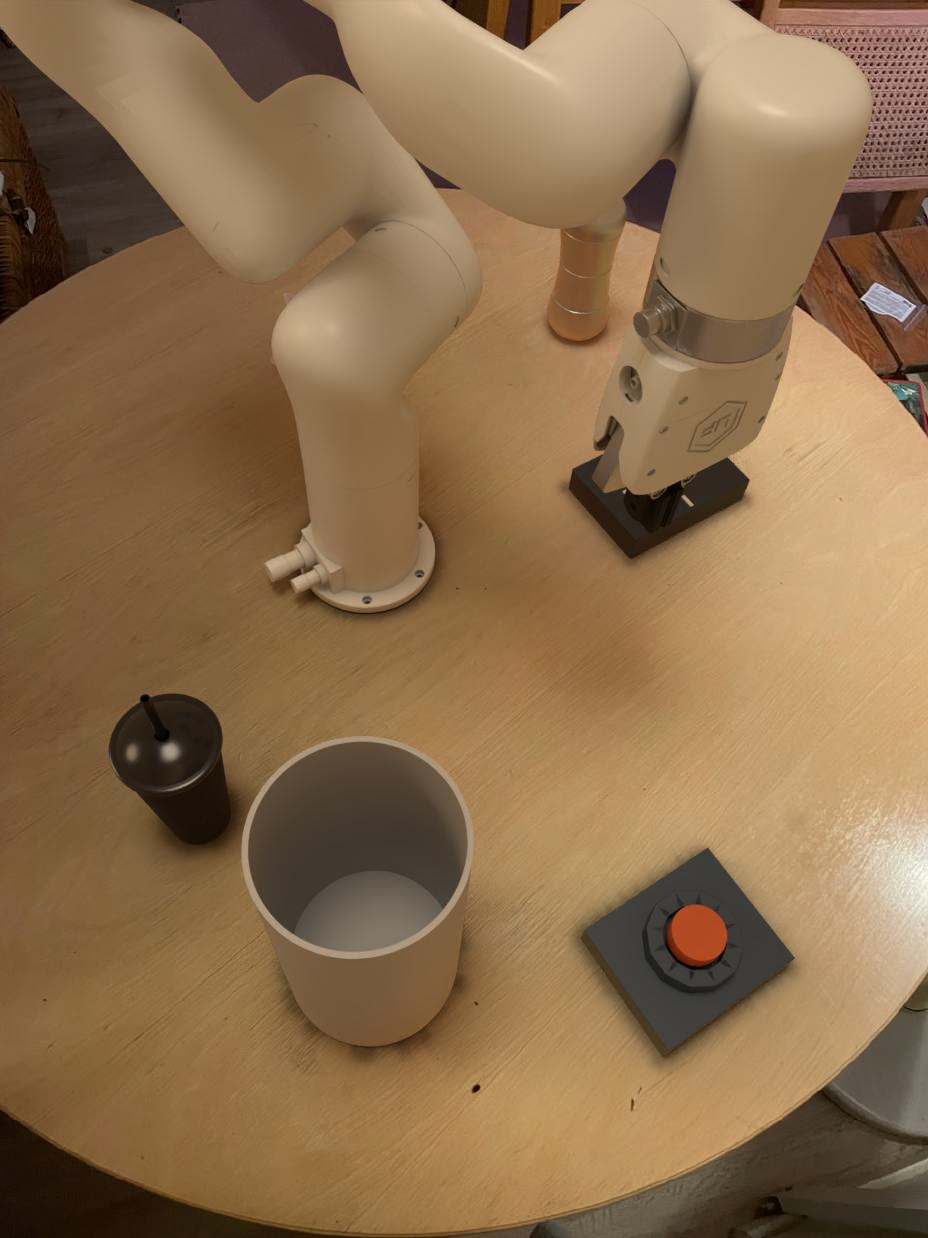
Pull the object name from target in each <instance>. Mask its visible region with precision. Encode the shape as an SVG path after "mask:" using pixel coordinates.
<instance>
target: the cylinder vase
mask: <svg viewBox="0 0 928 1238" xmlns="http://www.w3.org/2000/svg"><path fill="white" fill-rule="evenodd" d="M242 831H243V832H242V837H241V851H240V853H241V865H242V873H243V877H244V880H245V884H246V887H247V890H248V892H249V895H250V897H251V899H252V902H253V904H254V906H255V908H256V911H257V913H258V915H259V918H260V920H261V922H262V925H263V927H264V930H265V932H266V934H267V936H268V939H269V941H270V943H271V945H272V948H273V950H274V952H275V955H276V957H277V959H278V962H279V964H280V966H281V969H282V971H283V974H284V976H285V978H286V980H287V982H288V985H289V988H290V990H291V992H292V995H293V996H294V999H295V1001H296V1003H297V1005H298V1007H299V1008H300V1010H301V1011H302V1013H303V1014H304V1015H305V1017H306V1018H307V1019H308V1020H309V1021H310V1022H311V1024H312V1025H314V1026H315V1028H317V1029H318V1030H320V1031H321V1032H323V1033H324V1034H326V1035H328V1036H329V1037H331V1038H332V1039H335V1040H337V1041H339V1042H342V1043H345V1044H348V1045H353V1046H359V1047H380V1046H381V1047H382V1046H387V1045H391V1044H394V1043H398V1042H400V1041H403V1040H406V1039H408V1038H409V1037H411V1036H413V1035H415V1034H417V1033H418V1032H419V1031H421V1030H422V1029H423V1028H425V1027H426V1026H428V1024H429V1023H430V1022H431V1021H433V1020H434V1018H435V1017H436V1016H437V1015H438V1014H439V1012H440V1011H441V1010H442V1008H443V1007H444V1005H445V1004H446V1002H447V1001H448V999H449V997H450V994H451V992H452V989H453V987H454V983H455V980H456V977H457V972H458V966H459V958H460V952H461V946H462V945H461V943H462V937H463V930H464V923H465V916H466V909H467V904H468V903H467V902H468V896H469V888H470V881H471V874H472V867H473V862H474V861H473V860H474V852H475V835H474V827H473V820H472V816H471V812H470V809H469V807H468V804H467V802H466V800H465V798H464V795H463V794H462V791H461V790H460V788H459V787H458V785H457V783H456V782H455V781H454V779H453V778H452V777H451V776H450V774H449V773H448V772H447V771H446V769H444V768H443V767H442V766H441V765H440V764H439V763H437V762H436V760H434V759H433V758H431V756H429V755H427V754H425V753H424V752H423V751H421V750H419V749H417V748H415V747H413V746H411V745H408V744H406V743H404V742H401V741H397V740H394V739H391V738H385V737H379V736H370V735H355V736H345V737H339V738H334V739H330V740H327V741H324V742H321V743H317V744H316V745H313V746H311V747H308V748H306V749H304V750H303V751H301V752H299V753H297V754H296V755H294V756H293V757H291V758H290V759H289V760H287V761H286V762H284V763H283V765H281V766H280V767H279V768H278V769H276V770H275V771H274V773H273V774H272V775H271V776H270V777H269V778H268V779H267V781H266V782H265V783H264V784H263V786H262V787H261V789H260V790H259V792H258V793H257V795H256V797H255V799H254V801H252V804H251V806H250V808H249V811H248V813H247V816H246V819H245V822H244V828H243V830H242Z"/></svg>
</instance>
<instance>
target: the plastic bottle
mask: <svg viewBox="0 0 928 1238" xmlns="http://www.w3.org/2000/svg"><path fill="white" fill-rule="evenodd" d="M627 217H628V212H627V206H626V203H625V201H624V197H623V198H622V199H621V200H620V201H619V202H618V203H617V204H616V205H615V206H614V207H613V208H611V209H610V210H609V211H608V212H607V213H605V214H604V215H602V216H601V217H599V218H598V219H596V220H594V221H592V222H590V223H587V224H584V225H581V226H578V227H574V228H565V229H559V230H560V231H559V234H560V236H559V237H560V249H559V261H558V262H559V264H558V269H557V272H556V277H555V282H554V286H553V289H552V290H551V293H550V295H549V299H548V303H547V319H548V323H549V325H550V327H551V328H552V329H553V331H554V332H555V333H556V335H558V336H560V337H561V338H563V339H565V340H569V341H574V342H584V341H587V340H591V339H593V338H595V337H596V336H597V335H599V334H600V333H602V331H603V330H604V329H605V327H606V324H607V323H608V322H607V321H608V319H609V317H610V308H611V307H610V305H611V303H610V301H611V300H610V283H611V271H612V268H613V264H614V261H615V256H616V250H617V248H618V245H619V243H620V240H621V237H622V234H623V231H624V228H625V227H626V222H627V219H628V218H627Z"/></svg>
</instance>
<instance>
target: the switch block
mask: <svg viewBox="0 0 928 1238" xmlns="http://www.w3.org/2000/svg"><path fill="white" fill-rule="evenodd" d="M689 905H702V906H706V907H708V908H710V909H712V910H713V911H715V912H716V913H717V914H718V915H719V916H720V917H721V919H722V920H723V922H724V924H725V927H726V930H727V943H726V946H725V948H724V950H723V951H722V953H721V954H720V955H719V956H718V957H717V958H716V959H715V960H714V961H713V962H712V963H710V964H708V965H706V966H701V967H694V966H689V965H687V964H684V963H683V962H681V961H680V960H678V959H677V958H676V957H675V956H674V955H673V953H672V952H671V950H670V948H669V946H668V942H667V929H668V926H669V923H670V922H671V920H672V919H673V918H674V916H675V915H676V913H677V912H678V911H679V910H681V909H682V908H684V907H686V906H689ZM580 940H581V941H582V943H583V944H584V946H585V947H586V948H587V950H588V951H589V952H590V955H591V956H592V957H593V959H594V960H595V961H596V963H597V964H598V966H599V967H600V969H601V970H602V972H603V974H604V975H605V976H606V977H607V979H608V980H609V982H610V983H611V985H612V986H613V987H614V989H615V991H616V992H617V993H618V995H619V996H620V998H621V999H622V1000H623V1003H625V1004H626V1006H627V1008H628V1009H629V1011H630V1012H631V1014H632V1015H633V1016H634V1018H635V1019H636V1021H637V1022H638V1024H639V1025H640V1026H641V1028H642V1030H643V1031H644V1032H645V1034H646V1036H648V1038H649V1039H650V1041H651V1042H652V1044H653V1045H654V1047H655V1048H656V1049H657V1051H658V1052H659V1054H660V1056H661V1057H665V1056H667V1055H668V1054H669V1053H670V1052H672V1051H674V1049H676V1048H677V1047H679V1046H680V1045H681V1044H683V1043H684V1042H685V1041H687V1040H688V1039H689V1038H691V1037H692V1036H693V1035H694V1034H696V1033H698V1032H699V1031H700V1030H702V1029H703V1028H704V1027H705V1026H706V1025H708V1024H710V1023H711V1022H712V1021H714V1020H715V1019H716V1018H718V1017H719V1016H721V1015H722V1014H723V1013H724V1012H726V1011H727V1010H728V1009H730V1008H732V1006H734V1005H735V1004H737V1003H738V1002H739V1001H741V1000H742V999H743V998H745V997H746V996H748V995H749V994H750V993H751V992H753V991H754V990H755V989H757V988H758V987H759V986H761V985H762V984H764V983H765V982H766V981H768V980H769V979H770V978H772V977H773V976H774V975H776V974H778V972H780V971H781V970H783V969H784V968H785V967H786V966H788V965H789V964H790V963H791V962H793V961H794V960H795V959H796V957H795V956H794V955H793V953H792V952H791V951H790V950H789V948H788V947H787V946H786V945H785V943H784V942H783V941H782V939H780V937H779V936H778V934H777V933H776V932H775V930H774V929H773V928H772V926H771V925H770V924H769V923H768V922H767V920H766V919H765V917H763V915H762V914H761V913H760V912H759V911H758V909H757V908H756V907H755V905H754V903H752V901H751V900H750V899H749V897H748V896H747V895H746V894H745V892H744V891H743V890H742V889H741V887H740V886H739V885H738V884H737V882H736V881H735V880H734V879H733V877H732V876H731V875H730V873H729V872H728V871H727V870H726V868H725V867H724V866H723V865H722V863H721V862H720V861H719V859H718V858H717V857H716V856H715V854H714V853H713V852H712V851H711V850H710V848H709V847H706V848H704V849H703V850H702V851H699V853H697V854H695V855H694V856H693V857H691V858H689V859H688V860H687V861H685V862H684V863H682V864H681V865H679V866H678V867H676V868H675V869H673V870H672V871H670V872H669V873H667V874H666V875H665V876H663V877H661V878H660V879H658V880H657V881H655V882H654V883H652V884H650V885H649V886H648V887H646V888H645V889H643V890H642V891H640V892H639V893H638V894H636V895H634V896H633V897H631V898H630V899H629V900H627V901H626V902H624V903H623V904H621V905H619V906H618V907H616V908H615V909H614V910H612V911H611V912H609V913H608V914H606V915H605V916H603V917H602V918H600V919H599V920H597V921H596V922H594V923H593V924H591V925H590V926H588V927H586V928H585V929H584V930H583V932H582V934H581V937H580Z"/></svg>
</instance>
